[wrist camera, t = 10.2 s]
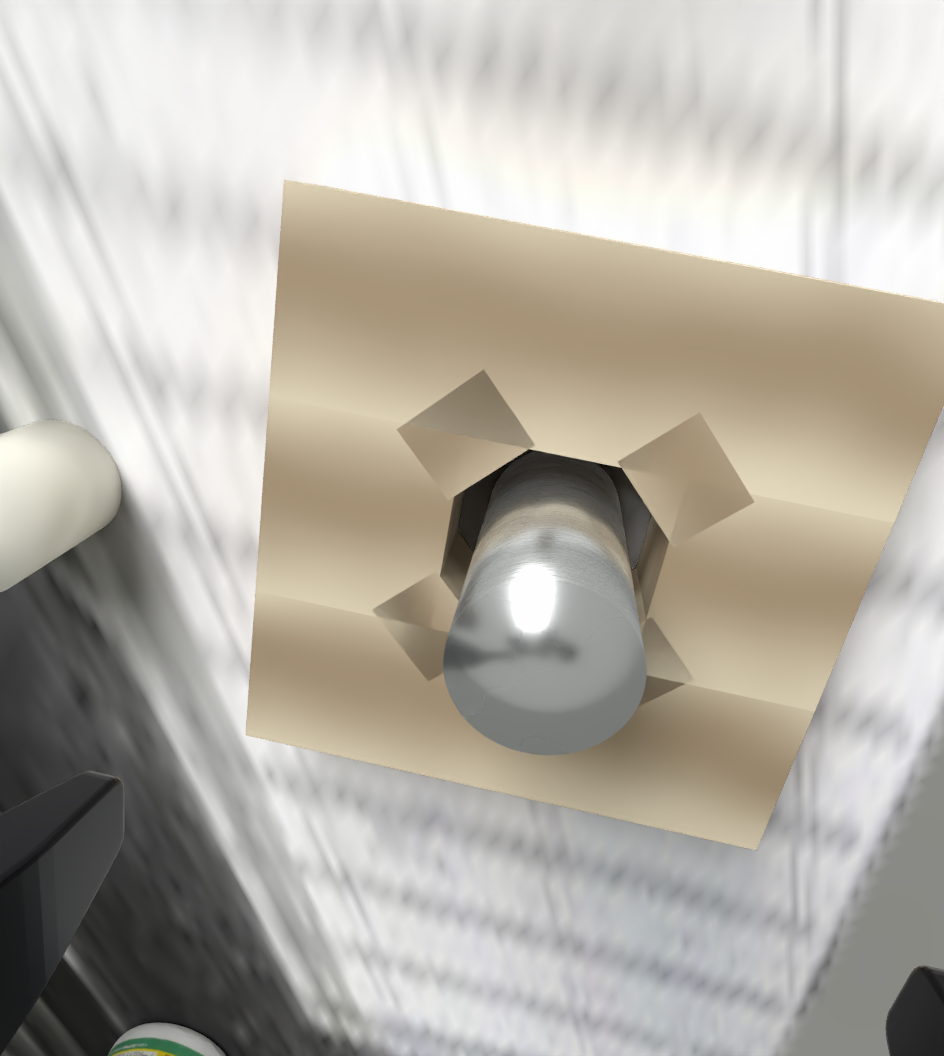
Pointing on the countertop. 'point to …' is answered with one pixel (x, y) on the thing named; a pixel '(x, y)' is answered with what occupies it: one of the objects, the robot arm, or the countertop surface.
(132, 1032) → the supplement bottle
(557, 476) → the tall steel pin
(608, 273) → the hole board
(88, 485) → the short cream pin
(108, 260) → the countertop surface
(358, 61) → the countertop surface
